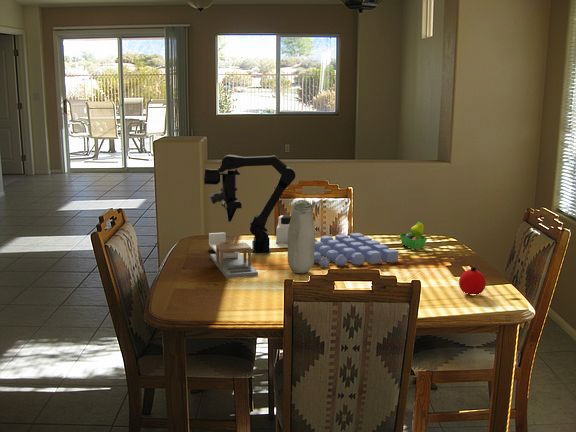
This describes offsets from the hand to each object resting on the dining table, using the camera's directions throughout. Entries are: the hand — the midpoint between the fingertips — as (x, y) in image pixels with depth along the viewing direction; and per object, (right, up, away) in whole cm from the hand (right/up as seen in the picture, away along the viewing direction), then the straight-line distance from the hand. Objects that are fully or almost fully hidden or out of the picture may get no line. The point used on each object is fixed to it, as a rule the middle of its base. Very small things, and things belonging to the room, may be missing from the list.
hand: (229, 221), depth 281 cm
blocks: (+47, -15, 0) cm, 50 cm away
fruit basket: (+81, -12, +13) cm, 82 cm away
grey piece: (+4, -18, -21) cm, 28 cm away
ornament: (+88, -25, -51) cm, 105 cm away
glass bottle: (+30, -19, -27) cm, 44 cm away
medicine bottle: (+23, -10, +20) cm, 33 cm away
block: (0, -13, -11) cm, 17 cm away
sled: (-2, -12, -4) cm, 13 cm away
